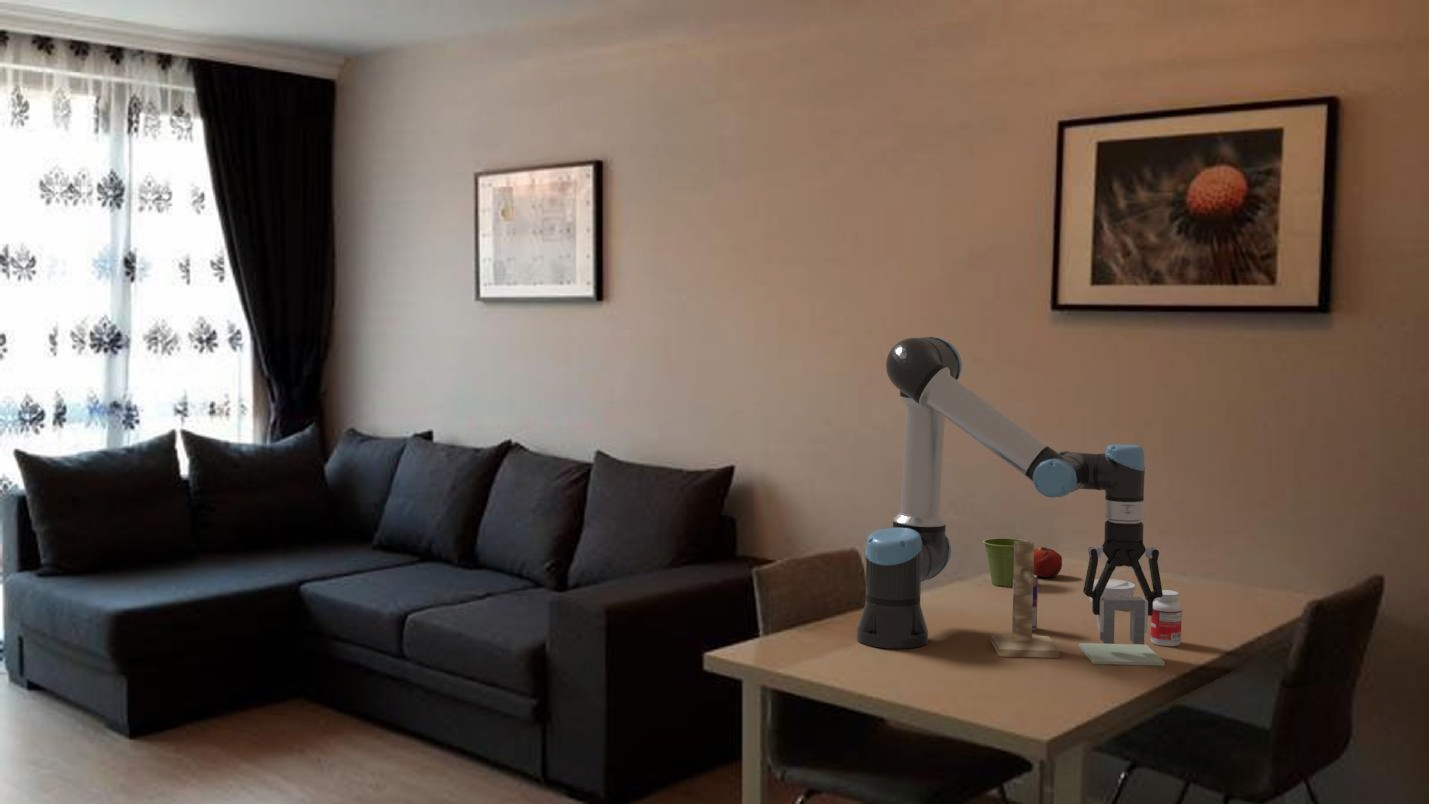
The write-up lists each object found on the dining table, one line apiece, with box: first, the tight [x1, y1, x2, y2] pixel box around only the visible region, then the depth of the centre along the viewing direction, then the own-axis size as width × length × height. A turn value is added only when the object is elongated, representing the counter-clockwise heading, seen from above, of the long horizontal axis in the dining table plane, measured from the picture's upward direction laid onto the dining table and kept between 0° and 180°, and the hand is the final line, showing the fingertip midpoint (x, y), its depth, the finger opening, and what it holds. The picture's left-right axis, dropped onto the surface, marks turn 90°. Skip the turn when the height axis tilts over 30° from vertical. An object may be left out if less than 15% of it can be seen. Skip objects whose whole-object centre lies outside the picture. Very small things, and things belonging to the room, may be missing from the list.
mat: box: [1078, 642, 1166, 666], centre depth 262 cm, size 14×14×1 cm
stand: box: [990, 540, 1060, 659], centre depth 264 cm, size 12×15×22 cm
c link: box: [1099, 596, 1145, 645], centre depth 261 cm, size 8×4×9 cm, turn 86°
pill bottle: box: [1150, 589, 1183, 648], centre depth 271 cm, size 6×6×11 cm
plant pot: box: [982, 537, 1027, 587], centre depth 331 cm, size 12×12×11 cm
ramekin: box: [1088, 578, 1136, 604], centre depth 308 cm, size 11×11×5 cm
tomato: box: [1033, 546, 1063, 578], centre depth 341 cm, size 9×9×8 cm
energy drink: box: [1011, 574, 1039, 632], centre depth 283 cm, size 5×5×12 cm
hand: (1122, 630), depth 261 cm, fingers closed on c link, 8 cm apart
